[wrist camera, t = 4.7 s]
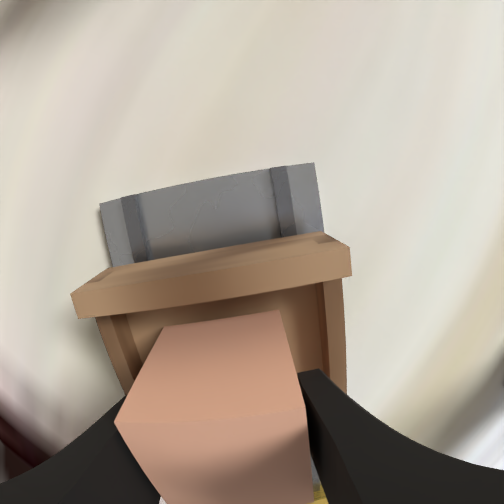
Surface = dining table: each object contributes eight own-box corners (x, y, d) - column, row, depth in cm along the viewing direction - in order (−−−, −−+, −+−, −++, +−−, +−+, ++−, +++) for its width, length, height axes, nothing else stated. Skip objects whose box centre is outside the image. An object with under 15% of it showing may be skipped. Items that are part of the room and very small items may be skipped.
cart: (313, 227, 12) (349, 247, 8) (328, 391, 13) (352, 449, 10) (118, 261, 12) (70, 293, 8) (168, 413, 13) (152, 472, 9)
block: (278, 309, 10) (305, 407, 5) (292, 399, 11) (313, 502, 6) (164, 326, 10) (113, 422, 5) (193, 412, 11) (173, 511, 6)
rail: (311, 163, 12) (321, 160, 11) (333, 495, 17) (338, 511, 15) (104, 203, 12) (86, 205, 11) (217, 511, 17) (217, 527, 15)
